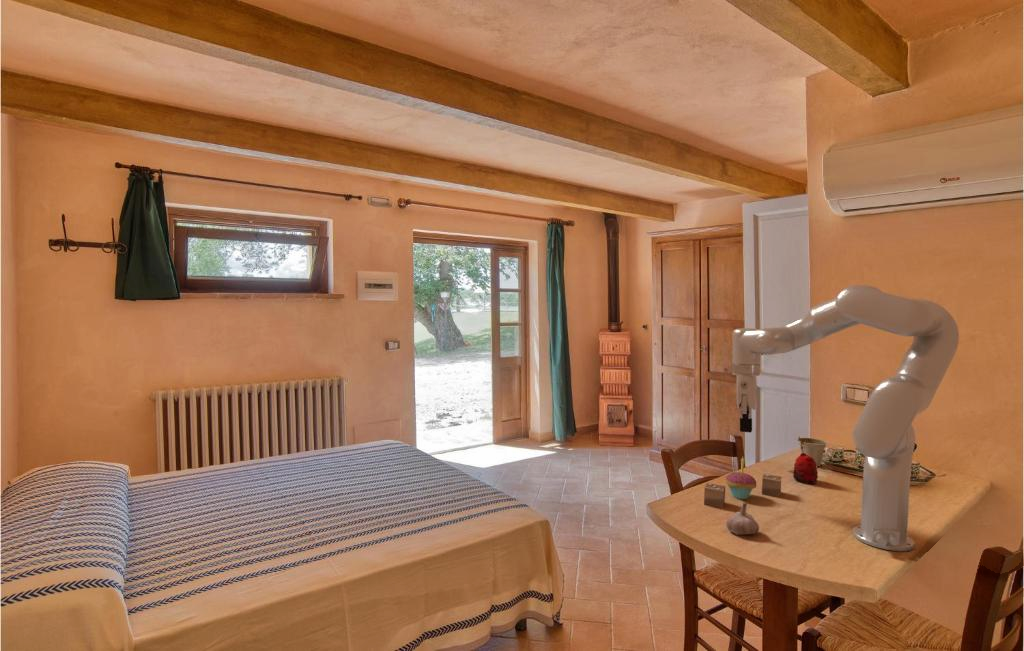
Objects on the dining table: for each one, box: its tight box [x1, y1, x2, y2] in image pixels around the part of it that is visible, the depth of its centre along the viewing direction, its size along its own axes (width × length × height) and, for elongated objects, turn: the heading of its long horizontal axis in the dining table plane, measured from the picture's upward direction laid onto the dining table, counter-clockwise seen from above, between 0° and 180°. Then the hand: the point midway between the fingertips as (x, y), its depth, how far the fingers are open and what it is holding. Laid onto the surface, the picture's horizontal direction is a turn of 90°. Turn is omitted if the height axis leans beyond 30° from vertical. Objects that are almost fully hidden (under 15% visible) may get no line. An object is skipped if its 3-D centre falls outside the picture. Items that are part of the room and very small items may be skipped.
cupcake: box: [725, 457, 757, 500], centre depth 162 cm, size 9×8×12 cm
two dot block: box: [761, 473, 782, 498], centre depth 166 cm, size 5×5×5 cm
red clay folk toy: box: [792, 436, 819, 485], centre depth 177 cm, size 8×7×15 cm
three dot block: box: [703, 482, 726, 509], centre depth 156 cm, size 5×5×5 cm
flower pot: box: [796, 437, 828, 467], centre depth 195 cm, size 9×9×9 cm
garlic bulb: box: [725, 501, 760, 536], centre depth 137 cm, size 8×7×8 cm
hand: (745, 431), depth 161 cm, fingers closed
